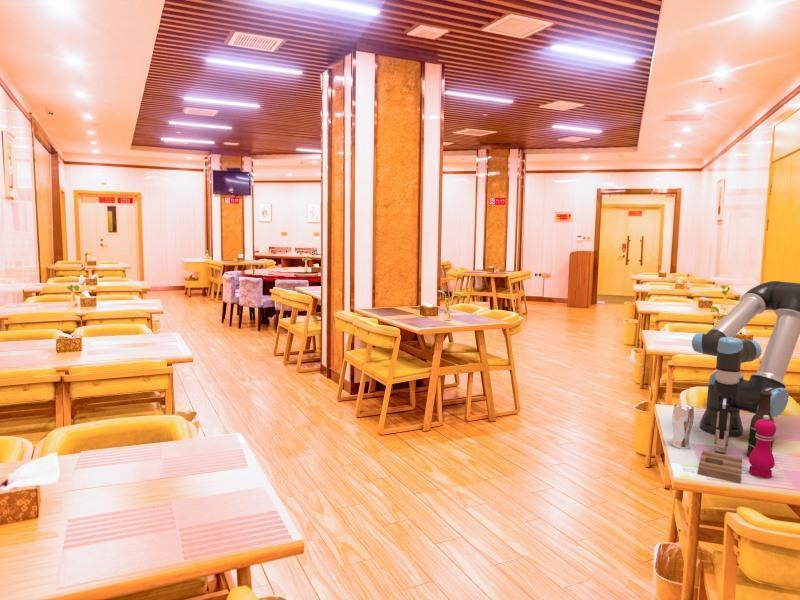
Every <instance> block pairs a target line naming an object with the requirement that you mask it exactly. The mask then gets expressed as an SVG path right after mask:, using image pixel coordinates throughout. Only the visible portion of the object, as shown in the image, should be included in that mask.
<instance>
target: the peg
mask: <svg viewBox="0 0 800 600" xmlns="http://www.w3.org/2000/svg"><path fill="white" fill-rule="evenodd" d="M719 414H720V411H718V413H717V424H716V427H718V425H719ZM729 424H730V413H728V416H727V426H726V428H727V432H726V443H725V448H720V447H716V446H715V448H714V449H715V451H716V452H717V453H721V454H724V453H727V447H728V445H729V443H728V442H729V436H728V435H729ZM717 433H718V429H716V434H714V438H715V439H714V444H715V445H716V444H717Z"/></svg>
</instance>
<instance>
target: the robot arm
mask: <svg viewBox="0 0 800 600" xmlns="http://www.w3.org/2000/svg"><path fill="white" fill-rule="evenodd" d="M765 311H774V314H775V316H776V320H775V323H774V326H773V327H772V328H773V329H772V332H771V334H770V336H769V340H768V343H767V345H766V347H765V350H764V354H763V356H762V358H761V361H760V364H759V366H758V369H757V371H756V372H754V373H752V374H751V375H750V378H749V379H744V378H745V377H744V375H743V374H742V373H741V368H742V367H741V366H742V365H741V364H742V363H748V362H749V363H751V362H753V361H756V360H758V358H760V357H761V355H762V347H761V345H760V344H759V342H757V341H756V340H753V339H744V340H742V339H741V338H738V337H735V336H736V335H737V334H738V333H739V332H740V331H741V330H742V329H743V328H744V327H746V325H748V323H750V322H751V321H752V320H753V319H754V318H755V317H756V316H757V315H761V314H762V313H764V312H765ZM799 336H800V282H790V281H789V282H788V281H780V280H773V281H772V280H771V281H766V282H763V283H760V284H758V285H755V286H754V287H752V288H750V289H748V290H747V291H746V292H745V293H744V294H743V295H742V296H741V297H740V301H739V302H738V303H737V304H736V305H735V306H734V307H733V308H732V309H731V310H730V311H729V312H727V313H726V314H725V315H724V317H722V318H721V319H720V320H719V321H718V322H717V323H716V324H715V325H714V326H713V327H711V329H710V330H709V331H707V332H706V333H703V332H702V333H700V332H699V333H695V334H694V336H692V340H691V346H692V347H691V348H692V349H693V351H694V352H695V353H699V354H702V355H708V356H711V357H716V365H715V370H713V373H711V374H710V376H709V379H708V383H707V398H706V407H705V411H704V412H703V414H702V416H701V418H700V420H699V421H700V422H699V428H700V429H701V430H703V431H704V432H706V433H710V434H713V435H716V429H718V433H717V444H715V448H716V447H720V448H725V443H726V432H727V428H726V426H727V416H728V413H730V424H729V435H728V437H739V436H742V435H743V434H744V427H743V423H742V419H741V415H740V412H741V411H743V412H748V413H752V414H754V415H755V414H756V413H757V411H758V407H759V402H760V396H761V395H760V392H761V391H769V392H771V393H772V396H771V402H770V414H771V416H772V418H776V417H778V416H780V415H781V414H782V413H783V412H784V410H785V409H786V407H787V405H788V402H789V396H790V395H789V391H788V390H787V389H786V387H787V386H786V383H785V382H784V378H785V375H786V373H787V370H788V368H789V364H790V361H791V358H792V357H793V354H794V351H795V348H796V345H797V343H798V339H799ZM718 411H720V414H719V425H718V427H716V424H717V413H718Z"/></svg>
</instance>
